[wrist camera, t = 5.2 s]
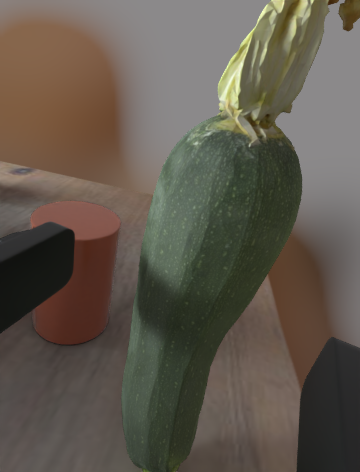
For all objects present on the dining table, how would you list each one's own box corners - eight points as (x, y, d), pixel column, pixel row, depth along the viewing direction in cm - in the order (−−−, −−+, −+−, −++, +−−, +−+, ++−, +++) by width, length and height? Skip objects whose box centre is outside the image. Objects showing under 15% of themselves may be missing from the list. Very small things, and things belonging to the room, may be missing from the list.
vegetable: (90, 451, 15) (159, -118, 6) (147, 392, 19) (246, -32, 9) (161, 525, 13) (419, -143, 4) (210, 443, 17) (411, -24, 8)
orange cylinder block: (123, 318, 23) (138, 224, 20) (65, 359, 19) (70, 250, 16) (77, 285, 26) (83, 195, 22) (16, 315, 22) (10, 211, 18)
